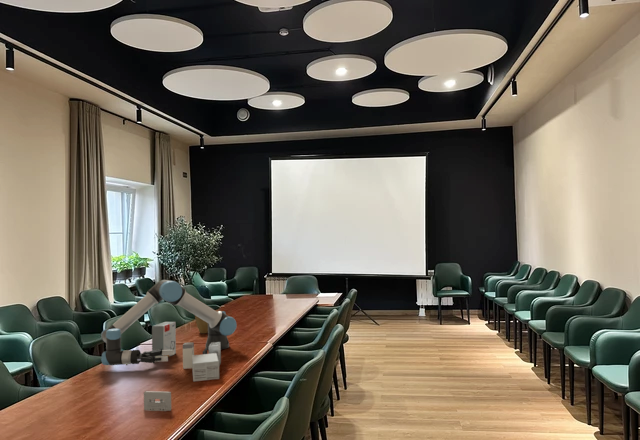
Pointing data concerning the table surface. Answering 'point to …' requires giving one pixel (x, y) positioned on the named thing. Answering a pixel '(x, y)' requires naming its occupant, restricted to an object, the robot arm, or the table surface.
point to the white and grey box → (188, 354)
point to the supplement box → (205, 367)
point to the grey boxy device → (215, 350)
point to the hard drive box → (164, 337)
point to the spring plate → (205, 351)
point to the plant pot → (201, 325)
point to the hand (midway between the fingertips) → (171, 355)
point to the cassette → (157, 405)
